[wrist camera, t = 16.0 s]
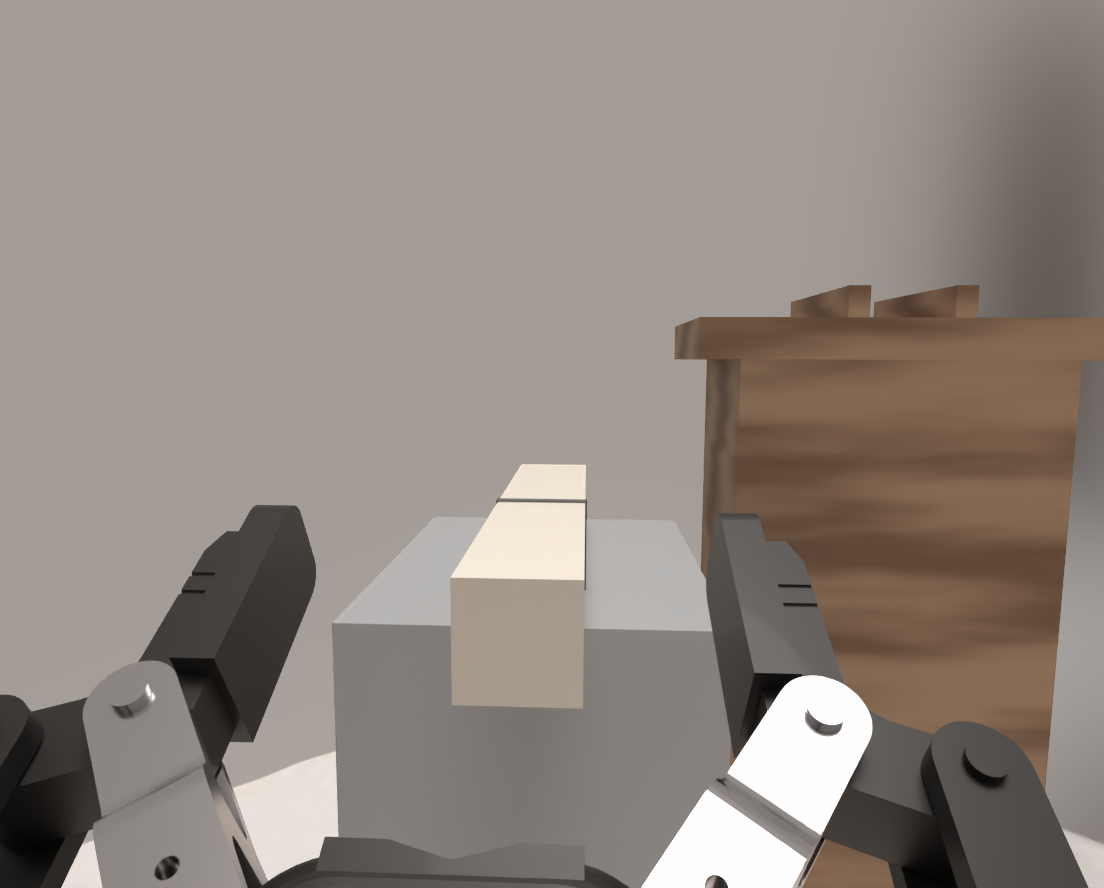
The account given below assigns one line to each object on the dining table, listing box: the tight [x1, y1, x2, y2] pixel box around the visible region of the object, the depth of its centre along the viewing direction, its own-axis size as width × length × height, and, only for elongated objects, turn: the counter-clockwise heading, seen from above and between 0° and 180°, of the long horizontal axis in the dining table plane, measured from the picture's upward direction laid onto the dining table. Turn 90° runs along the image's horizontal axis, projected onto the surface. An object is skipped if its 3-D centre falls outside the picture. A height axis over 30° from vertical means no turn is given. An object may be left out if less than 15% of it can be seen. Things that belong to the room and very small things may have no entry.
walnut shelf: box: [675, 285, 1104, 888], centre depth 41 cm, size 10×20×34 cm, turn 87°
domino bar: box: [450, 464, 587, 709], centre depth 25 cm, size 18×3×3 cm, turn 177°
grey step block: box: [332, 517, 731, 888], centre depth 30 cm, size 15×12×22 cm
